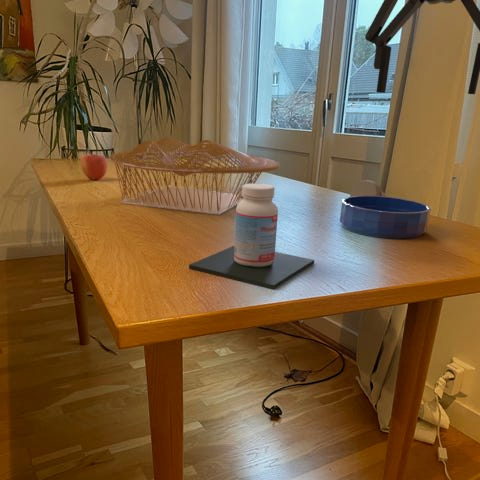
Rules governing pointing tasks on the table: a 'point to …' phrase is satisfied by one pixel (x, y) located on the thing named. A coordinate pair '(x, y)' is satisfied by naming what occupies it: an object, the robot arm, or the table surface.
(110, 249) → the table surface
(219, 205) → the basket
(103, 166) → the apple
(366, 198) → the bowl
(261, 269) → the mat
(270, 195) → the pill bottle
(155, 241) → the table surface
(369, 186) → the mug
